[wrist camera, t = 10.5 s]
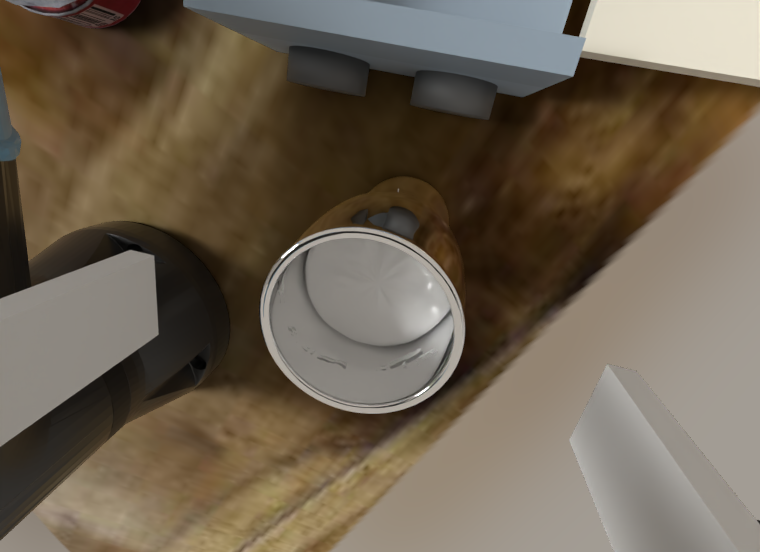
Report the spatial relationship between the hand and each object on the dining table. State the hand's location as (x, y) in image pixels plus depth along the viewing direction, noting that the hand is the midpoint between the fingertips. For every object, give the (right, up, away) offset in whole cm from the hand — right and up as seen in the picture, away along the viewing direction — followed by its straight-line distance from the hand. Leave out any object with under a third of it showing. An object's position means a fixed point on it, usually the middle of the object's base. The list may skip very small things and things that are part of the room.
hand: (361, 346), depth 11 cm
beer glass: (+2, +6, +15) cm, 16 cm away
